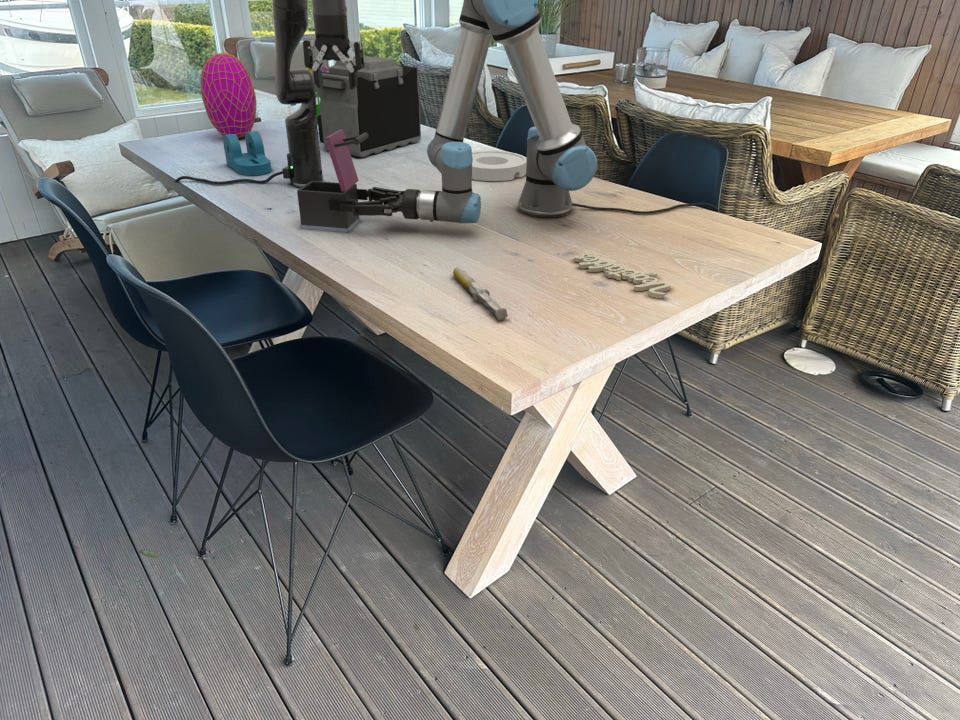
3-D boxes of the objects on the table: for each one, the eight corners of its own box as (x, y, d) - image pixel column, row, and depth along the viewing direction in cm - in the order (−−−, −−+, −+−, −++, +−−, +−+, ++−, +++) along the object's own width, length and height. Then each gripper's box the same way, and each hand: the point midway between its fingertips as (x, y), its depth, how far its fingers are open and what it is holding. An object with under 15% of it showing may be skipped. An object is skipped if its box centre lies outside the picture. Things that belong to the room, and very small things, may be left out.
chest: (301, 228, 180) (296, 190, 175) (315, 217, 188) (311, 180, 183) (347, 232, 178) (344, 194, 173) (359, 220, 186) (356, 183, 181)
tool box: (383, 133, 276) (378, 52, 261) (425, 141, 265) (422, 56, 250) (314, 150, 251) (304, 61, 235) (358, 160, 240) (350, 67, 224)
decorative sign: (686, 282, 150) (660, 295, 144) (686, 286, 150) (659, 300, 144) (592, 249, 166) (565, 259, 160) (592, 253, 167) (565, 263, 161)
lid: (324, 138, 167) (354, 131, 164) (338, 130, 174) (367, 124, 172) (341, 191, 173) (370, 186, 171) (354, 181, 180) (382, 176, 178)
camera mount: (227, 164, 233) (221, 132, 227) (257, 160, 238) (252, 129, 233) (244, 176, 220) (239, 143, 215) (276, 172, 225) (271, 139, 220)
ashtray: (459, 161, 239) (459, 150, 237) (525, 163, 239) (526, 151, 237) (455, 180, 219) (455, 167, 217) (527, 181, 219) (528, 169, 217)
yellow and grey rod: (449, 274, 155) (449, 263, 153) (465, 272, 156) (464, 260, 154) (490, 323, 135) (491, 310, 133) (508, 319, 136) (508, 307, 134)
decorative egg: (226, 145, 255) (211, 58, 240) (200, 137, 266) (184, 53, 251) (271, 137, 268) (259, 54, 252) (244, 129, 279) (231, 49, 263)
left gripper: (293, 12, 154) (302, 89, 163) (353, 14, 152) (359, 92, 160) (306, 10, 161) (314, 84, 169) (365, 11, 158) (370, 87, 167)
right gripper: (408, 233, 168) (322, 226, 172) (431, 206, 186) (352, 200, 190) (407, 203, 164) (318, 197, 168) (430, 178, 183) (350, 173, 186)
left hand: (336, 88), depth 165 cm, fingers open, 8 cm apart
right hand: (336, 198), depth 179 cm, fingers closed on chest, 9 cm apart
